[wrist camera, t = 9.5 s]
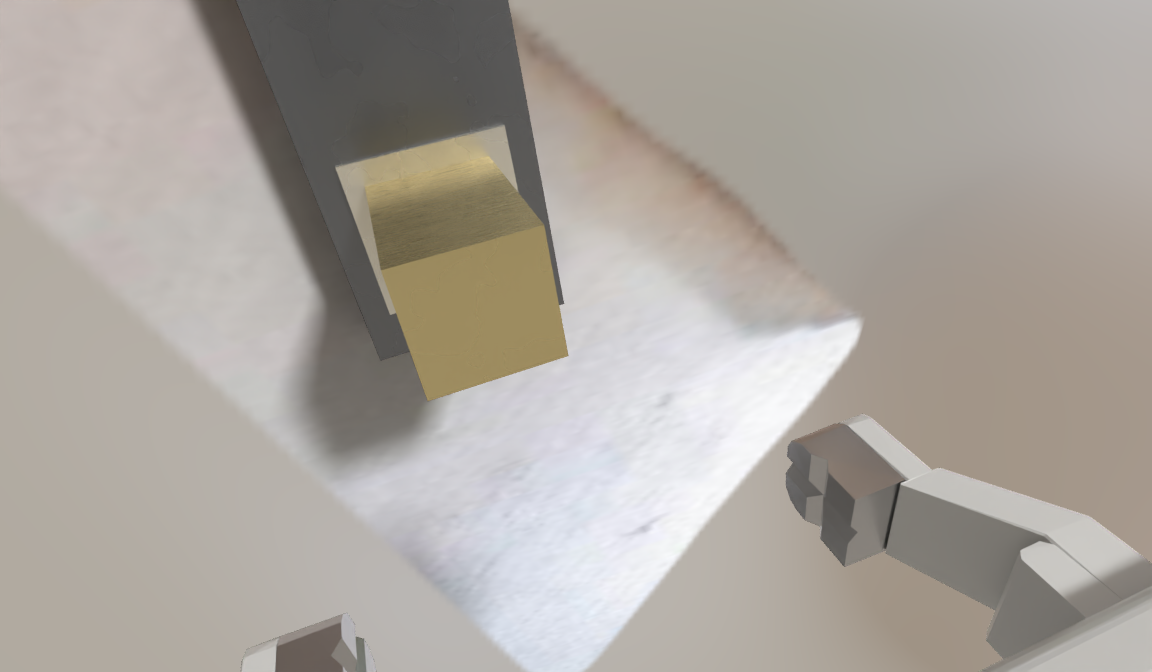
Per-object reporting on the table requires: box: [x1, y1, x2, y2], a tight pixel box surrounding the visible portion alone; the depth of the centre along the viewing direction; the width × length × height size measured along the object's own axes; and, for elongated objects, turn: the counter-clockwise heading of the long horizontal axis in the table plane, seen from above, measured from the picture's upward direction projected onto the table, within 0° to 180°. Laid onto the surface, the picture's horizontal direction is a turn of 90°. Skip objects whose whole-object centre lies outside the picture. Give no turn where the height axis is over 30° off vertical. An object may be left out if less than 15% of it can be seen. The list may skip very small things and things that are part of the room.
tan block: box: [365, 156, 568, 401], centre depth 21 cm, size 4×4×7 cm
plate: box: [236, 0, 564, 360], centre depth 22 cm, size 22×8×3 cm, turn 9°
